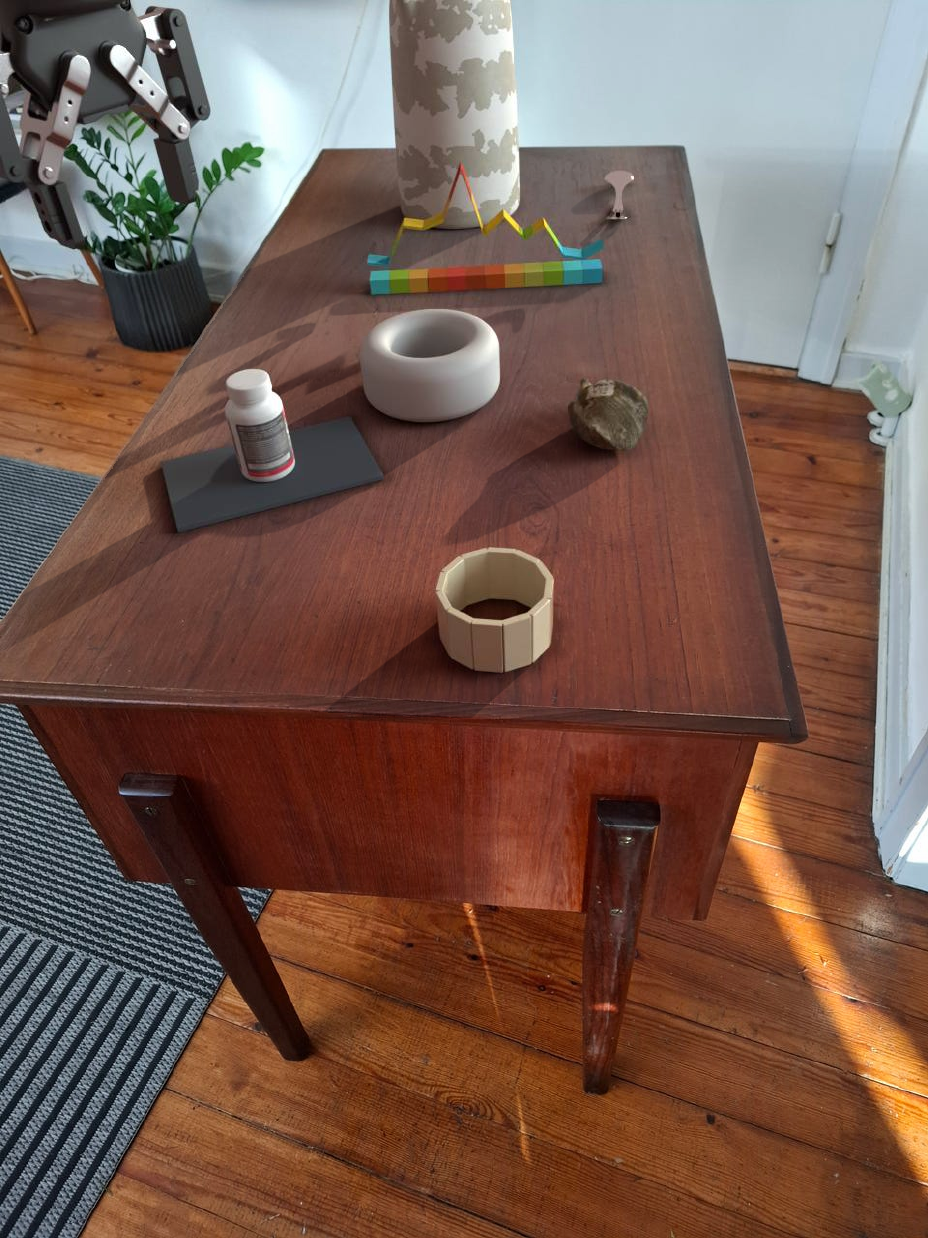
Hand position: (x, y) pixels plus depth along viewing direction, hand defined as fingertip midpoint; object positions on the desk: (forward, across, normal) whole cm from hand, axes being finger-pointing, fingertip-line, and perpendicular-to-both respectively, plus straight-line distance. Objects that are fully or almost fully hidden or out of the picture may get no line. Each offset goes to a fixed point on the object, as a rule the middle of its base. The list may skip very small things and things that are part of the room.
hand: (130, 222), depth 56 cm
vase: (+30, -79, -40) cm, 93 cm away
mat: (+30, -13, -10) cm, 34 cm away
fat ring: (+30, -34, -7) cm, 46 cm away
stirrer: (+30, -92, -19) cm, 99 cm away
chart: (+30, -60, -19) cm, 70 cm away
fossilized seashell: (+30, -37, +13) cm, 50 cm away
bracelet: (+30, -8, +22) cm, 38 cm away
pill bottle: (+30, -13, -10) cm, 34 cm away
